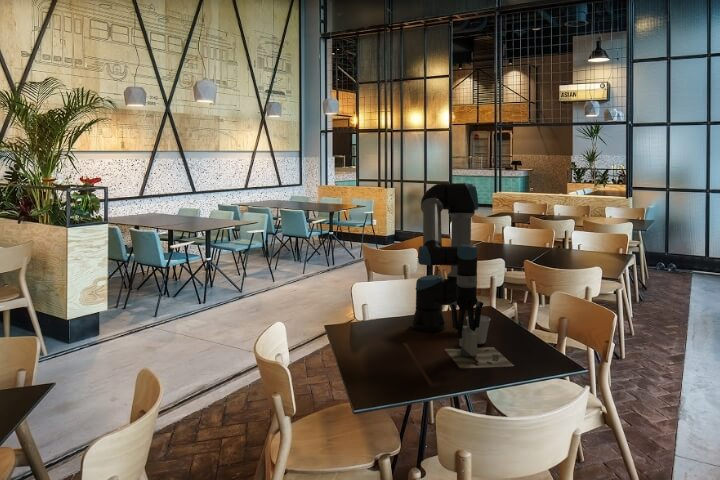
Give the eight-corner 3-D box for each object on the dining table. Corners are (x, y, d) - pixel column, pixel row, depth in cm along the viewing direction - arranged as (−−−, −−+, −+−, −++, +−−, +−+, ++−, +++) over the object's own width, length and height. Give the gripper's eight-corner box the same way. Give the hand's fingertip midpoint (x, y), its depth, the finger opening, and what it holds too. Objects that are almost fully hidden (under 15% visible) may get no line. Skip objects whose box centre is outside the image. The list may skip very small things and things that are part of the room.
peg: (455, 351, 229) (456, 326, 228) (470, 350, 230) (471, 325, 229) (469, 364, 214) (469, 337, 213) (484, 363, 215) (485, 336, 213)
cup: (490, 348, 236) (490, 322, 234) (464, 347, 238) (465, 320, 236) (489, 341, 245) (490, 315, 244) (465, 340, 247) (466, 314, 246)
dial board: (444, 352, 232) (444, 348, 232) (493, 350, 234) (493, 346, 234) (460, 371, 210) (460, 367, 210) (514, 369, 212) (514, 365, 212)
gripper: (451, 289, 218) (450, 350, 221) (490, 286, 222) (488, 347, 225) (443, 285, 225) (442, 344, 228) (481, 282, 229) (479, 341, 232)
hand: (465, 345), depth 227 cm, fingers closed on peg, 2 cm apart
